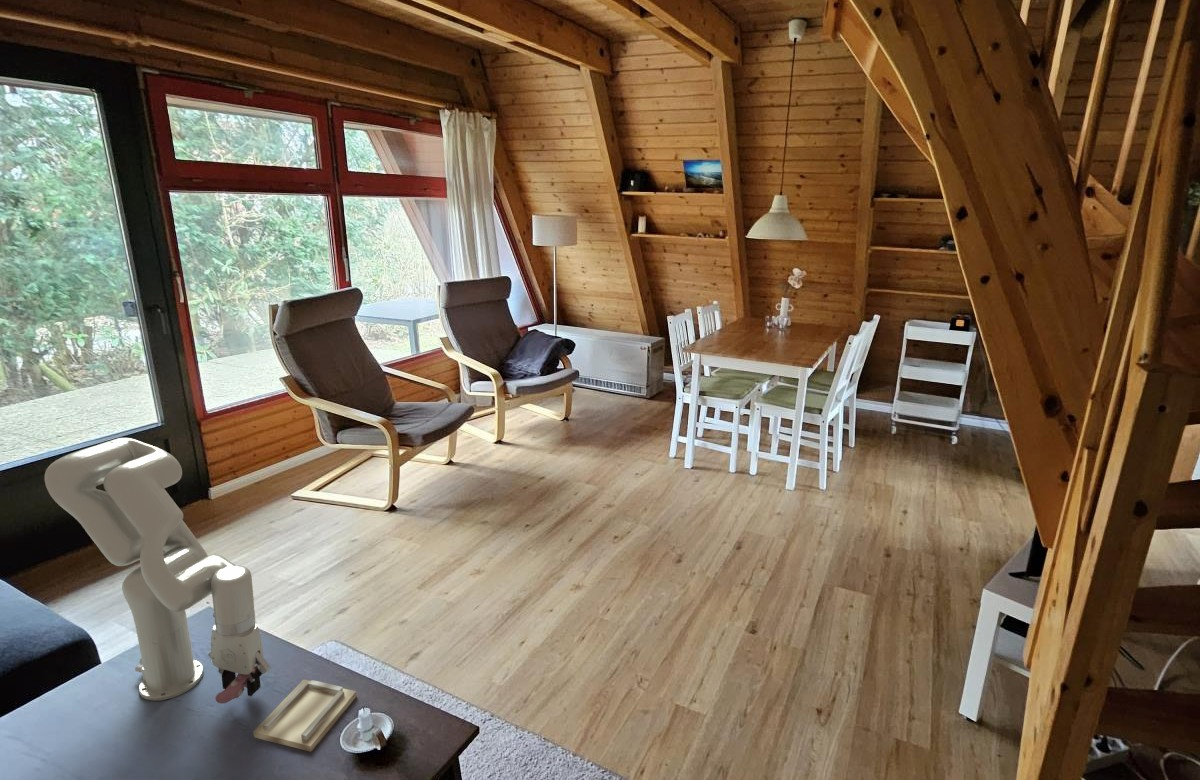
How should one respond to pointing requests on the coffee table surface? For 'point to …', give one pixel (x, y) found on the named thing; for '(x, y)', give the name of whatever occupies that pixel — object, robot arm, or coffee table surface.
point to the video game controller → (233, 689)
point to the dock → (305, 715)
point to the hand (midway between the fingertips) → (241, 687)
